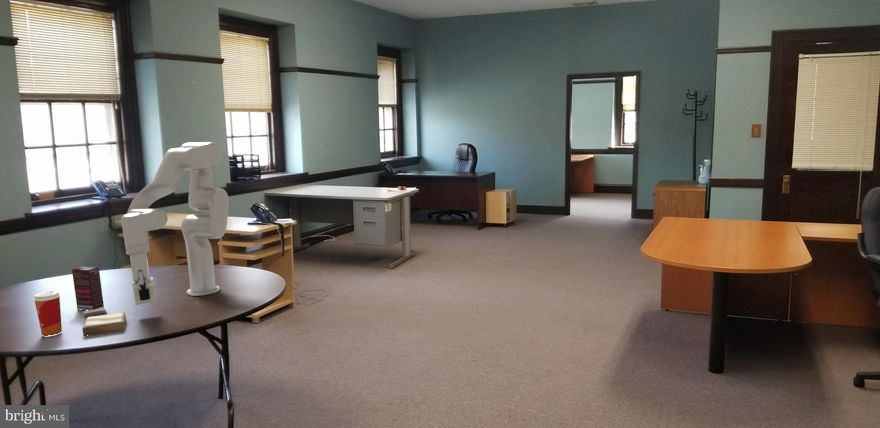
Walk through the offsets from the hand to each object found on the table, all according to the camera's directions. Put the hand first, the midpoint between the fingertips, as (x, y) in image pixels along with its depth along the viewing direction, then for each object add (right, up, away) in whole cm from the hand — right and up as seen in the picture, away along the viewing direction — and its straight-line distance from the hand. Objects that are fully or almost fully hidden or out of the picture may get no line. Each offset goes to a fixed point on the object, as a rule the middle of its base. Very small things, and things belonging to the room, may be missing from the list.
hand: (145, 297), depth 226 cm
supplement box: (-26, -6, +12) cm, 29 cm away
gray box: (-16, -8, -2) cm, 18 cm away
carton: (0, -2, 0) cm, 2 cm away
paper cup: (-24, -11, -15) cm, 30 cm away
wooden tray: (-8, -9, -11) cm, 17 cm away
